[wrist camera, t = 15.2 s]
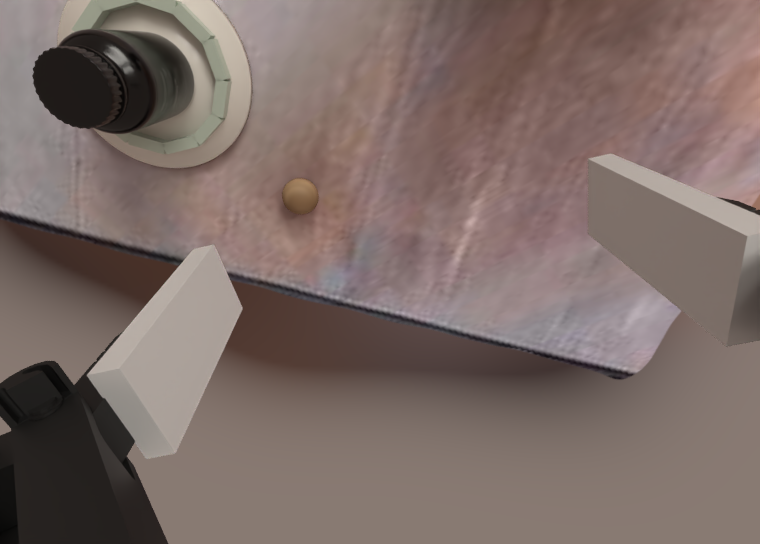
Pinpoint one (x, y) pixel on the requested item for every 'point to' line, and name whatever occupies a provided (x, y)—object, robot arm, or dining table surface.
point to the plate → (209, 66)
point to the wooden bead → (300, 196)
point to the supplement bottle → (114, 80)
